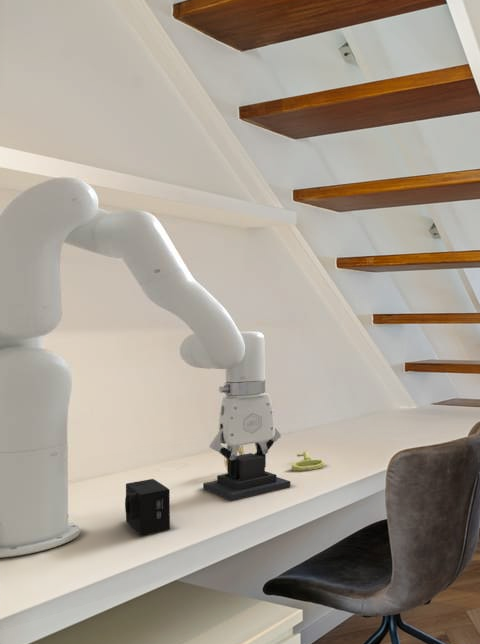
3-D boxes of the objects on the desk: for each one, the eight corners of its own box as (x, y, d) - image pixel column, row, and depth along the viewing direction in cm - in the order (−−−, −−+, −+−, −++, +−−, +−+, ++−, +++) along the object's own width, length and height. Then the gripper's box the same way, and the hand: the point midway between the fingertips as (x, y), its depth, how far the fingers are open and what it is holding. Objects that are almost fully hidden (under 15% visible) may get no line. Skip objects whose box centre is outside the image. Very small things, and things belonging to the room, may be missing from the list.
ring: (238, 469, 142) (237, 435, 142) (250, 469, 141) (250, 435, 141) (219, 477, 135) (218, 441, 135) (232, 477, 134) (231, 442, 134)
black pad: (242, 480, 122) (242, 461, 122) (229, 475, 126) (228, 457, 126) (265, 475, 125) (264, 457, 125) (250, 471, 129) (250, 453, 129)
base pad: (231, 500, 116) (231, 487, 116) (203, 488, 125) (203, 476, 125) (290, 486, 125) (290, 474, 125) (259, 476, 134) (259, 464, 134)
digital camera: (117, 524, 104) (117, 484, 104) (153, 516, 108) (153, 477, 108) (131, 538, 96) (131, 495, 96) (169, 529, 100) (169, 488, 100)
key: (307, 458, 151) (306, 450, 151) (327, 467, 142) (327, 458, 142) (278, 464, 146) (278, 455, 146) (297, 473, 137) (297, 464, 137)
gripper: (211, 394, 117) (212, 487, 116) (292, 386, 130) (294, 469, 130) (195, 392, 121) (196, 481, 121) (276, 384, 135) (277, 464, 134)
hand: (247, 474), depth 125 cm, fingers closed on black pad, 4 cm apart
